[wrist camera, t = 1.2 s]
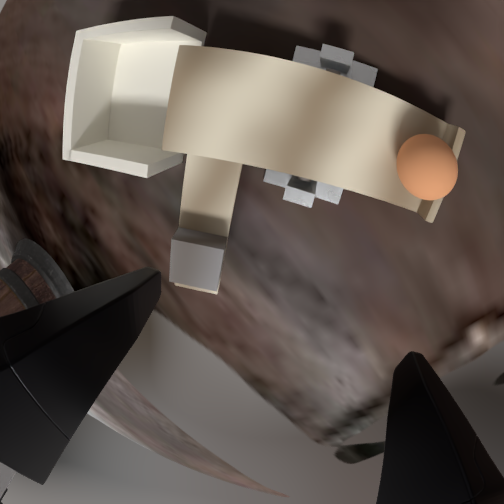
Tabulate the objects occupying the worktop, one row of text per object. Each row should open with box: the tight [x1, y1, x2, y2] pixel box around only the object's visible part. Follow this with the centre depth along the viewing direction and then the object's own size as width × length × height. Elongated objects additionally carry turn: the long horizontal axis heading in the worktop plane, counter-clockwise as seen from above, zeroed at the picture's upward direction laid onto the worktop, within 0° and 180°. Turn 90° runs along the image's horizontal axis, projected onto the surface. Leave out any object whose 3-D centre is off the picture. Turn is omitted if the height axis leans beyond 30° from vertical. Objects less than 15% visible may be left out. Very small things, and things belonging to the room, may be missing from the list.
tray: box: [63, 16, 207, 178], centre depth 15 cm, size 8×10×4 cm
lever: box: [162, 45, 466, 294], centre depth 15 cm, size 16×15×2 cm
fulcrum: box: [264, 44, 378, 208], centre depth 14 cm, size 5×9×3 cm, turn 167°
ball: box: [396, 134, 458, 200], centre depth 12 cm, size 4×4×4 cm
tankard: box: [0, 239, 74, 317], centre depth 26 cm, size 24×17×20 cm
